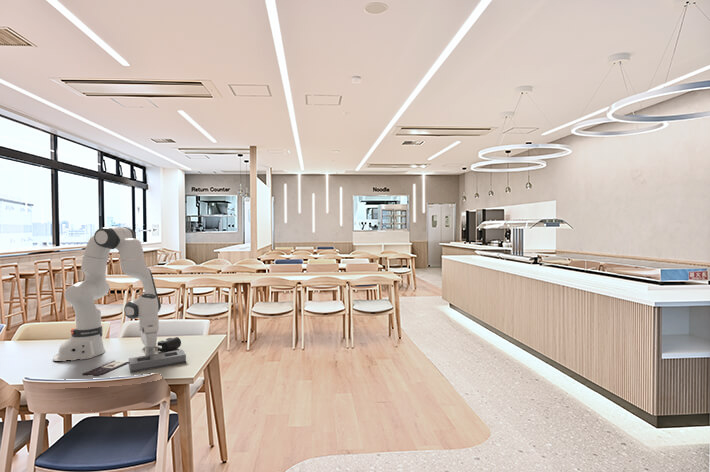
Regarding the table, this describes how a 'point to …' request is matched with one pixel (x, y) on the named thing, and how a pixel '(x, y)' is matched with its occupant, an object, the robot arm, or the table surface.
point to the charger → (147, 350)
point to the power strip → (156, 360)
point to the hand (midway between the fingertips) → (149, 352)
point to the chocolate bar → (106, 368)
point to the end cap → (169, 345)
